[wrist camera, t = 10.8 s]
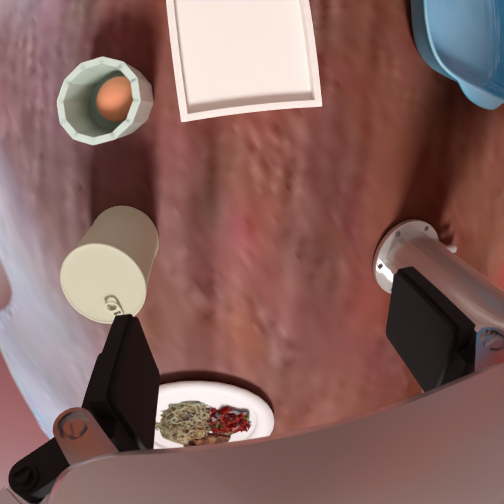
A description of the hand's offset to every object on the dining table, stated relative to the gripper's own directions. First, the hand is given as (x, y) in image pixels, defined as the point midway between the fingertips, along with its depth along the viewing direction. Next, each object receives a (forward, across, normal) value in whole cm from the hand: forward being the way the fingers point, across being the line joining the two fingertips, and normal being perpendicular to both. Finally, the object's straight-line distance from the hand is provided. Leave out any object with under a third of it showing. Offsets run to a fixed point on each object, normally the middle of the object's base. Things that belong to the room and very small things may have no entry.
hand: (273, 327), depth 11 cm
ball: (+28, +11, -11) cm, 32 cm away
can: (+29, +14, +6) cm, 33 cm away
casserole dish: (+30, -37, -26) cm, 55 cm away
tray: (+29, -4, -16) cm, 33 cm away
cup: (+29, +11, -11) cm, 33 cm away
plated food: (+30, +13, +46) cm, 57 cm away
